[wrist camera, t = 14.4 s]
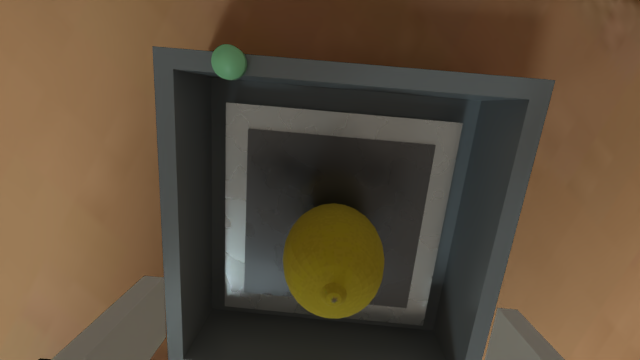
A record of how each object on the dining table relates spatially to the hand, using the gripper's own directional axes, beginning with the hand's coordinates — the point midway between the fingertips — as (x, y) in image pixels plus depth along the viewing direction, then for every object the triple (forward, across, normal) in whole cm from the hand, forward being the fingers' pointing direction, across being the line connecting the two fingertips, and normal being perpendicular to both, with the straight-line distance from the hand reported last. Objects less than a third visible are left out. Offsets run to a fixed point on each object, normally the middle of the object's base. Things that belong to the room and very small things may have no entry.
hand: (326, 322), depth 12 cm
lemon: (+9, 0, 0) cm, 9 cm away
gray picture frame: (+10, 0, -1) cm, 10 cm away
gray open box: (+12, 0, -1) cm, 12 cm away
